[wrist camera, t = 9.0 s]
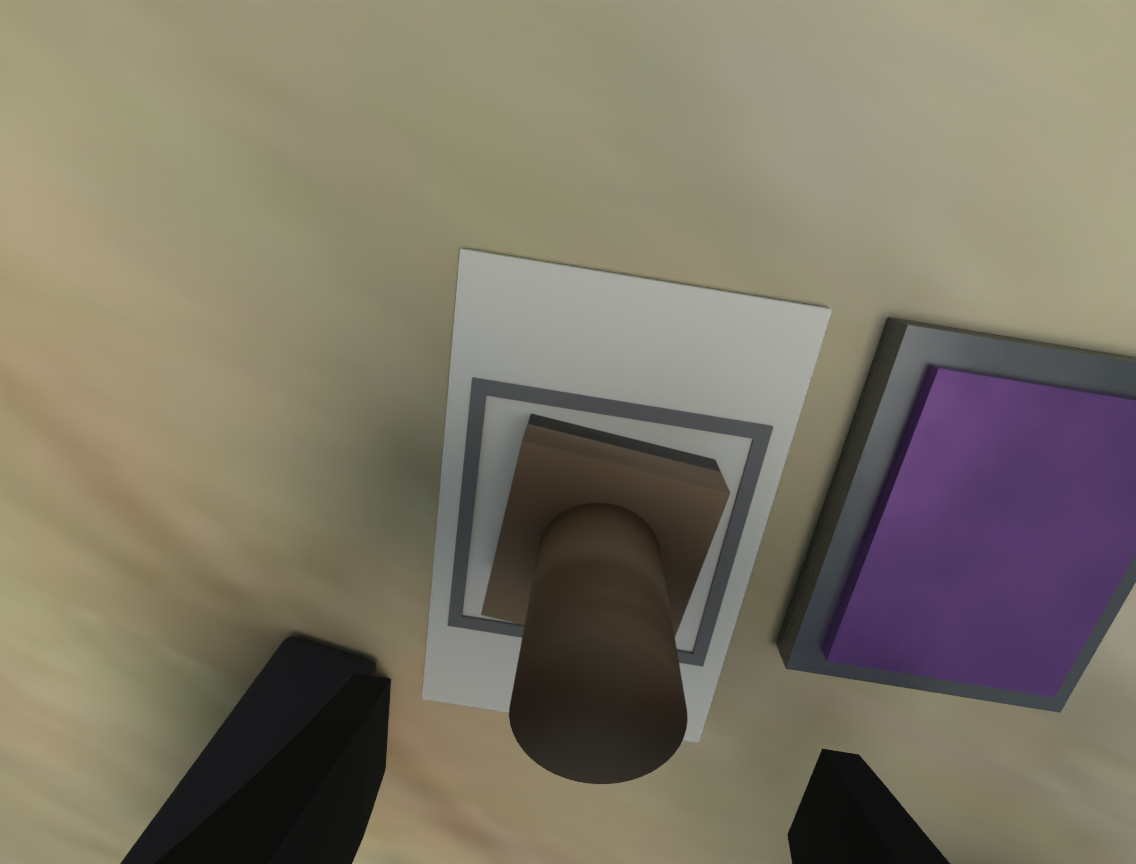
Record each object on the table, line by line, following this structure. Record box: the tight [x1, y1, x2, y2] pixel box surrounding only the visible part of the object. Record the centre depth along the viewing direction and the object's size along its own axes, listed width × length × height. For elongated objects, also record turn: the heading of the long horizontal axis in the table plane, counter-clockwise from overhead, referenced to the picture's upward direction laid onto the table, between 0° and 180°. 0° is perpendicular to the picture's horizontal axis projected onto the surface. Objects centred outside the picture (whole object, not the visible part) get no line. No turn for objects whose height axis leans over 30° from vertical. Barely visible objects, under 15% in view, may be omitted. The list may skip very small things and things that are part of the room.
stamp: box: [481, 413, 730, 784], centre depth 13 cm, size 5×5×7 cm
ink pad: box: [777, 317, 1136, 712], centre depth 16 cm, size 10×8×1 cm
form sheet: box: [422, 248, 832, 743], centre depth 17 cm, size 14×9×1 cm, turn 171°
